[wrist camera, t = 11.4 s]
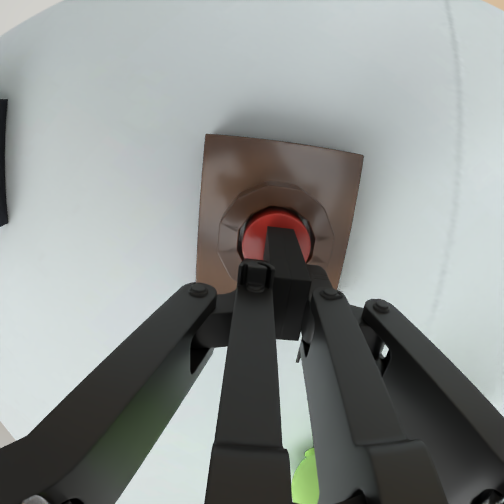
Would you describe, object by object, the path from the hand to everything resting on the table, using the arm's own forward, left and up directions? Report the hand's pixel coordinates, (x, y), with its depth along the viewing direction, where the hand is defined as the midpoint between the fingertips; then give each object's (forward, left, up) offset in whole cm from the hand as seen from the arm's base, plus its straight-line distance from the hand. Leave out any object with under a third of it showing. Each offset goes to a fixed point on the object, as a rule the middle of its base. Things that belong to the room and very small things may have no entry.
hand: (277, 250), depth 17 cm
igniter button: (0, 0, -2) cm, 2 cm away
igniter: (0, 0, -5) cm, 5 cm away
